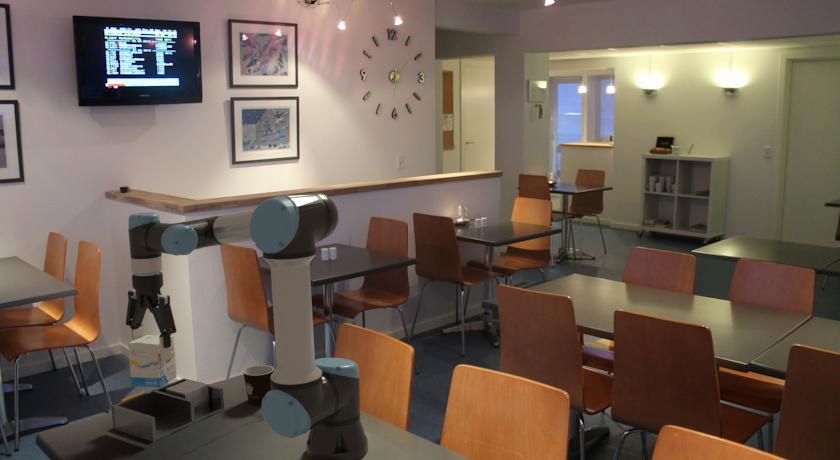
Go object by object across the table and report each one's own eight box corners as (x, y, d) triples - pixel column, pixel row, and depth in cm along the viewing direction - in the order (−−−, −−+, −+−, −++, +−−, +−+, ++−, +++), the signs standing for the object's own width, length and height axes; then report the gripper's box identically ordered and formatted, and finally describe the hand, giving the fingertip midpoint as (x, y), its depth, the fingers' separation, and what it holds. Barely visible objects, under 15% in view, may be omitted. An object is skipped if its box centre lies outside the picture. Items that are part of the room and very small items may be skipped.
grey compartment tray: (224, 412, 206) (222, 386, 205) (153, 444, 186) (151, 416, 185) (184, 400, 215) (183, 376, 214) (112, 431, 195) (110, 403, 194)
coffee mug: (242, 400, 215) (240, 367, 213) (271, 395, 218) (269, 363, 217) (250, 415, 204) (248, 380, 203) (281, 409, 208) (279, 375, 206)
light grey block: (209, 408, 207) (207, 384, 206) (186, 418, 200) (185, 394, 199) (189, 403, 211) (188, 379, 210) (167, 412, 204) (165, 388, 203)
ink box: (159, 388, 189) (155, 344, 187) (130, 386, 191) (126, 342, 189) (178, 376, 197) (174, 334, 195) (150, 375, 199) (146, 333, 197)
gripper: (188, 274, 187) (192, 359, 190) (131, 265, 198) (137, 344, 202) (164, 280, 180) (169, 367, 184) (107, 270, 192) (113, 352, 196)
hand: (152, 355), depth 193 cm, fingers closed on ink box, 10 cm apart
